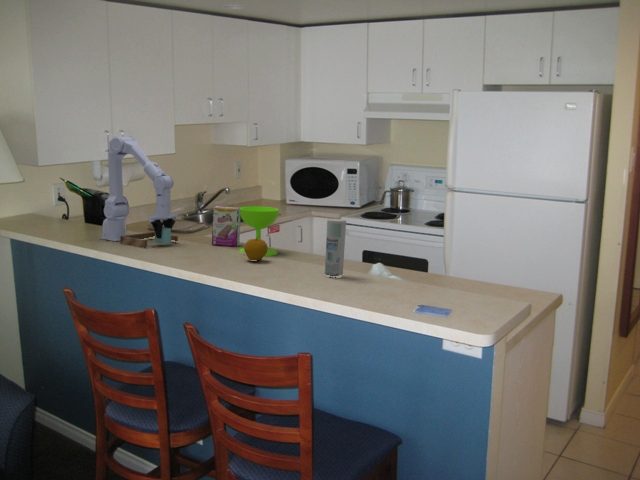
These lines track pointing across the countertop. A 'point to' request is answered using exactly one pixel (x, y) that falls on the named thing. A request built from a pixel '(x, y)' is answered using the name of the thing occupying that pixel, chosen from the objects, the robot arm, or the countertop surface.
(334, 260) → the spray can
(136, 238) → the walnut crate
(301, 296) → the countertop surface
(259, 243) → the apple
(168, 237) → the teal block
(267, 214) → the wineglass
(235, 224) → the candy bar box
